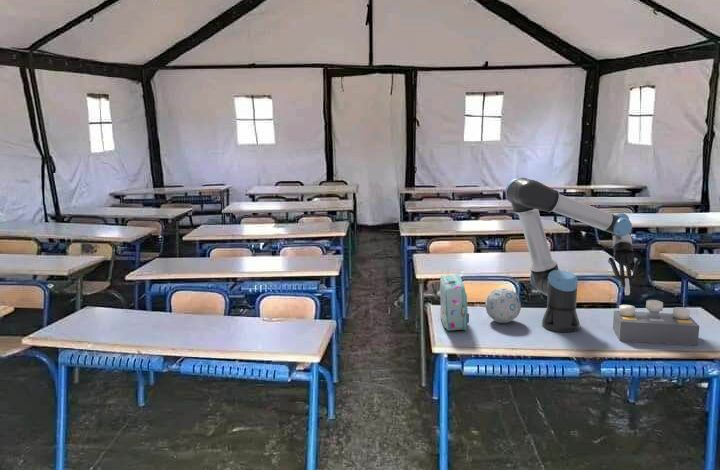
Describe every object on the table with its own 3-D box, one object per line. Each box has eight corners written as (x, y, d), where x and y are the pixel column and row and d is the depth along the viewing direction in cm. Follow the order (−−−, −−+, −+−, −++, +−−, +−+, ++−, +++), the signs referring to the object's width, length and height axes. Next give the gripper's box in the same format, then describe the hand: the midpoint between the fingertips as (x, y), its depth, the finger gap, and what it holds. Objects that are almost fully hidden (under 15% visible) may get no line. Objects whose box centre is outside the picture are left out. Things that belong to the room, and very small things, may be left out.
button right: (673, 330, 228) (675, 311, 226) (669, 325, 233) (671, 306, 232) (690, 331, 226) (692, 312, 225) (685, 326, 232) (687, 307, 230)
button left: (619, 327, 232) (621, 308, 231) (616, 322, 238) (618, 304, 236) (635, 328, 231) (637, 309, 229) (632, 323, 237) (633, 305, 235)
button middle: (646, 323, 229) (648, 303, 228) (643, 318, 235) (644, 299, 234) (663, 323, 228) (664, 304, 227) (659, 319, 234) (660, 300, 232)
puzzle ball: (483, 325, 247) (484, 292, 245) (487, 314, 261) (487, 283, 259) (519, 329, 243) (520, 295, 240) (521, 317, 257) (522, 285, 254)
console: (619, 340, 227) (620, 321, 226) (612, 328, 241) (613, 310, 239) (697, 345, 221) (699, 325, 219) (686, 333, 234) (687, 313, 233)
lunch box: (470, 335, 237) (471, 285, 233) (445, 335, 237) (445, 285, 233) (460, 314, 263) (461, 269, 259) (438, 314, 263) (438, 269, 259)
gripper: (637, 250, 250) (642, 298, 238) (605, 249, 254) (609, 297, 241) (640, 241, 244) (646, 290, 232) (608, 240, 248) (612, 288, 235)
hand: (627, 293), depth 236 cm, fingers closed
